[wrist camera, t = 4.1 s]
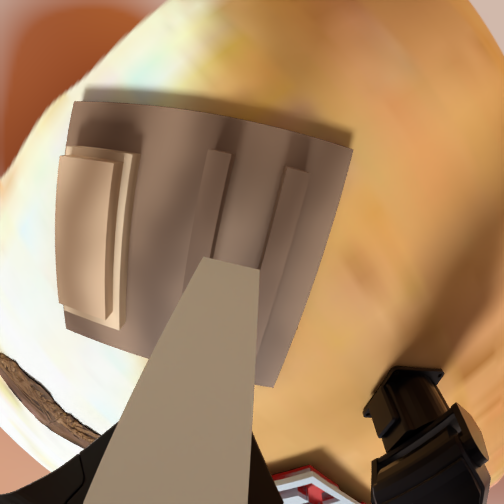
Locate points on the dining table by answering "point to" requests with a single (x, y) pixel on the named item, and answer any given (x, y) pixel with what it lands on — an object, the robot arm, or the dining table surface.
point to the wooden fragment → (44, 405)
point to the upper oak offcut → (86, 232)
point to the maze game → (309, 488)
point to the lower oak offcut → (122, 229)
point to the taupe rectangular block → (191, 401)
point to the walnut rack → (216, 215)
